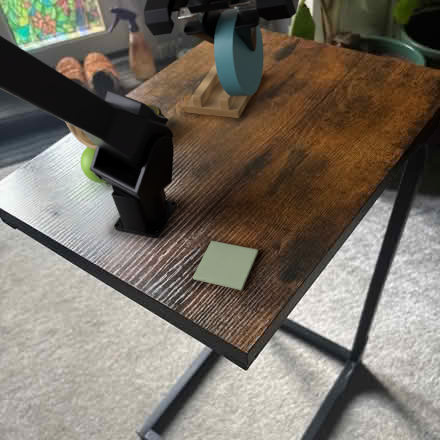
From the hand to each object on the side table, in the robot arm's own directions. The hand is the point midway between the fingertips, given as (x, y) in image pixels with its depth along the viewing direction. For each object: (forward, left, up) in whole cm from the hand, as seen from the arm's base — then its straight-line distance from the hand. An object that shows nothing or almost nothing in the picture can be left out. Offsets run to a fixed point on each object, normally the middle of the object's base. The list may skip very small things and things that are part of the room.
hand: (244, 49), depth 60 cm
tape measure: (-5, +15, -12) cm, 20 cm away
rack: (+9, +7, -12) cm, 17 cm away
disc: (-1, 0, 0) cm, 1 cm away
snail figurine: (-15, +17, -12) cm, 26 cm away
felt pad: (-26, -6, -12) cm, 29 cm away
